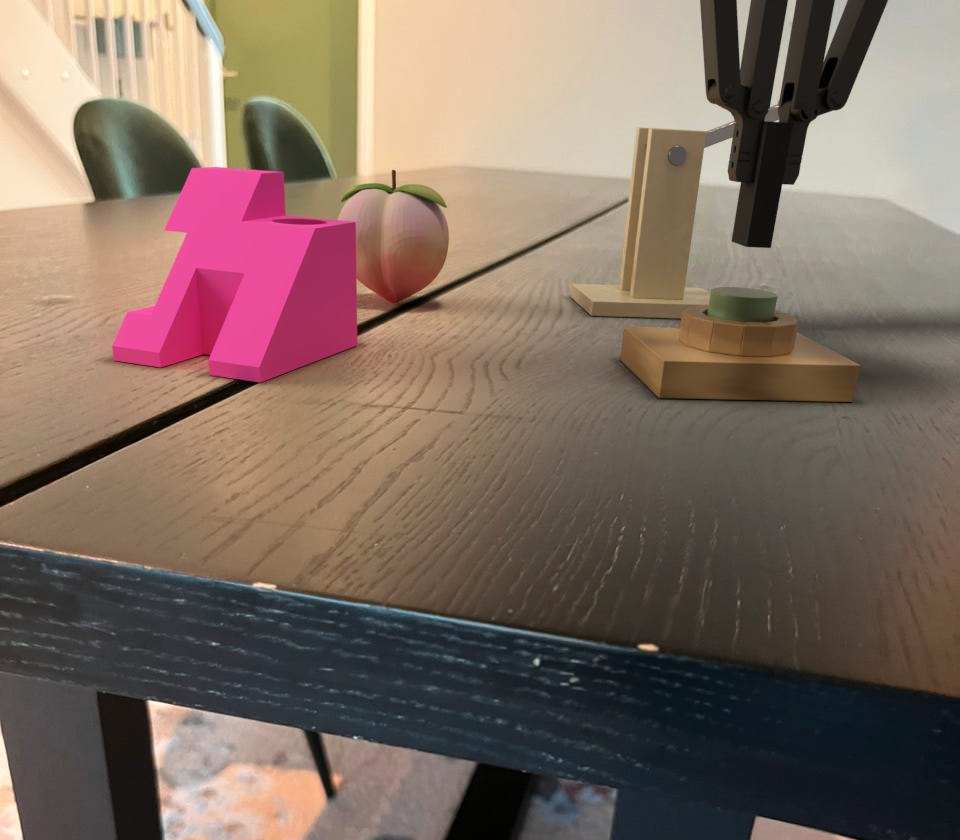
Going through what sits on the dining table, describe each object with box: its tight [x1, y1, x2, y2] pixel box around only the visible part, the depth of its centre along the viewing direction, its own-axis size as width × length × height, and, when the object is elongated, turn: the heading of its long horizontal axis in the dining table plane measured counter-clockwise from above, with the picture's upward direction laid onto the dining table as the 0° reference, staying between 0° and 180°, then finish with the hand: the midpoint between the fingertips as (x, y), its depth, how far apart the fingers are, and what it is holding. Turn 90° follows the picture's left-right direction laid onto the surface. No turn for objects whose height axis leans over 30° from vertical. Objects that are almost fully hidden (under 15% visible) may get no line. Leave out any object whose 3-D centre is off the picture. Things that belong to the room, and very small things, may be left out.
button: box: [707, 286, 778, 322], centre depth 60 cm, size 4×4×2 cm
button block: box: [619, 305, 862, 403], centre depth 61 cm, size 12×10×4 cm
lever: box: [645, 100, 779, 149], centre depth 78 cm, size 13×6×2 cm, turn 96°
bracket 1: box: [111, 166, 358, 383], centre depth 60 cm, size 12×10×10 cm
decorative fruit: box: [337, 169, 450, 304], centre depth 79 cm, size 9×8×10 cm
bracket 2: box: [570, 126, 711, 320], centre depth 81 cm, size 12×9×14 cm
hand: (750, 244), depth 58 cm, fingers closed
